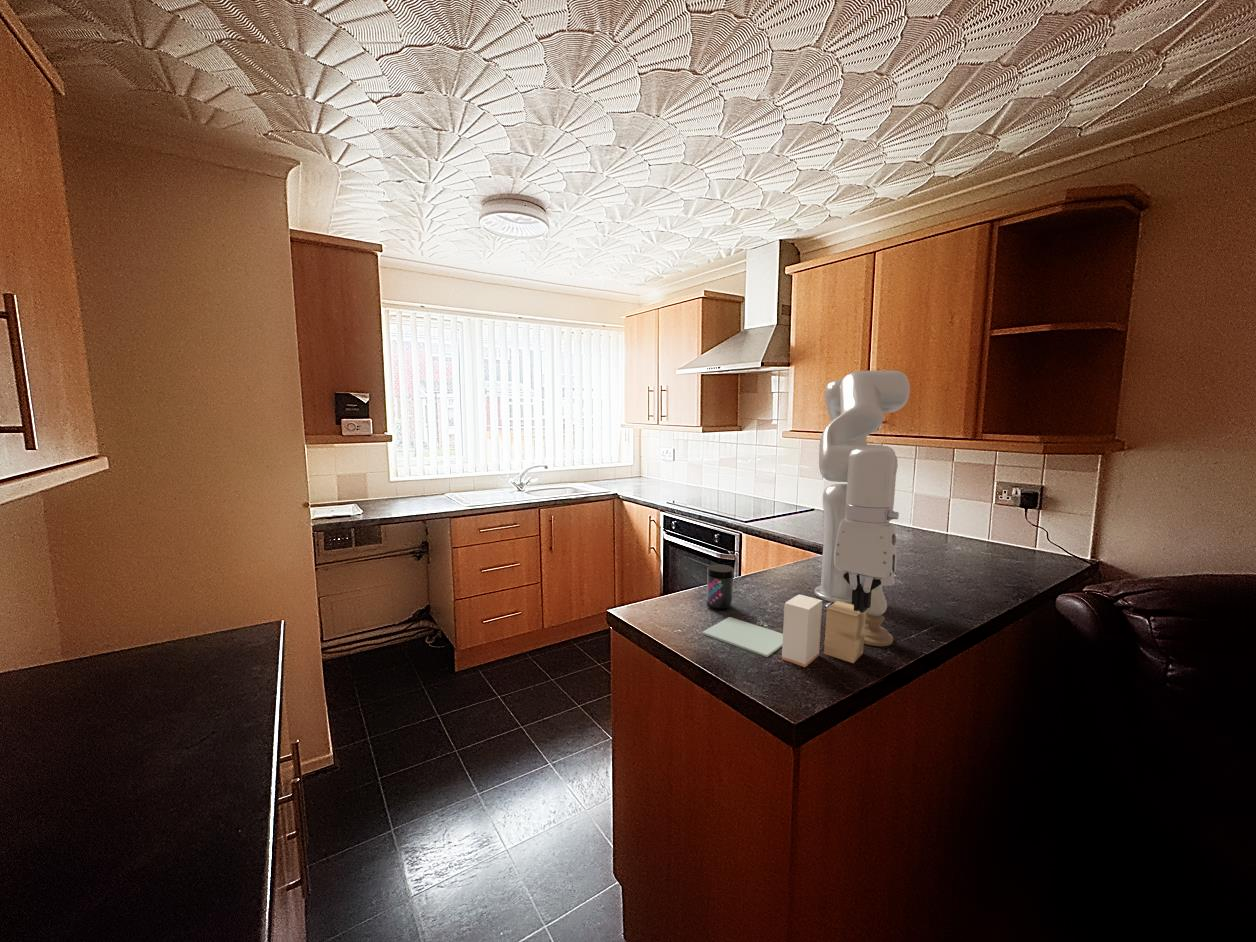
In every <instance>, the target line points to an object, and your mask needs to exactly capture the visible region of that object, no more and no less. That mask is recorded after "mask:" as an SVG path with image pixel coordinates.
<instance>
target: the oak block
mask: <svg viewBox="0 0 1256 942" xmlns="http://www.w3.org/2000/svg"><path fill="white" fill-rule="evenodd" d="M825 615H826V616H825V617H826V618H825V632H824V647H823V654H824V655H826V656H829V657H833V658H836V659H839V660H842V661H845V662H849V663H851V664H854V663H855V662H856V661H857V660H858V659H859V658H860V657H861V656H862V655H863V654H864V645H865V644H864V632H865V618H866V611H865V612H863V613H861V612H860V611H854V605H853V604H848V603H844V602H840V601H836V602H835V603H834V602H832V604H831V605H829V606H828V607H826V614H825Z"/></svg>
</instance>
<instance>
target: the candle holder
mask: <svg viewBox="0 0 1256 942" xmlns="http://www.w3.org/2000/svg"><path fill="white" fill-rule="evenodd" d="M896 558H898V557H897V554H896ZM887 608H888V602H887V600H886V598H885V595H884V591H883V586H878V587H876V588H875V589H873V590H872V593H871V605H870V608H867V610H866V618H865V632H864V645H867V646H871V647H872V646H873V647H887V646H888V647H889V646H891V645H892V644H893V642H894V637H893V635H892V634H891V633H889V632H888V629H886V628H884V627H883V626H881V625H882V623H883V622H884V621H885V616H884V615H883V614H884V613H885V612H887V610H888V609H887Z"/></svg>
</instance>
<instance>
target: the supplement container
mask: <svg viewBox="0 0 1256 942" xmlns="http://www.w3.org/2000/svg"><path fill="white" fill-rule="evenodd" d="M706 571H707V576H706V577H707V579H706V581H707V583H706V606H707V607H708V608H709V609H710V610H712V609H713V611H715V612H716V611H717V612H725V611H729V610H731V609H732V607H733V599H734V598H733V595H734V594H733V592H734V576H735V575H734V574H735V573H734V571H735V568H734V567H732V566H731V565H727V564H721V563H720V564H718V563H717V564H716V563H715V564H710V565H708V566H707V570H706Z"/></svg>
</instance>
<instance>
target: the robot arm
mask: <svg viewBox="0 0 1256 942" xmlns="http://www.w3.org/2000/svg"><path fill="white" fill-rule="evenodd" d="M910 385H911V384H910V381H909V378H908V377H907V375H906V373H904V372H902V371H899V370H858V371H857V370H856V371H853V372H850V373H848V374H846V375H845V376H844V377H843V378H840V379H835V380H832V381H830V382H829V383H827V385H826V386H825V390H824V400H825V406H826V409H827V413H828V415H829V418H830V421H831V422H829V424H828V425H827V426H826V427H825V428H824V430H823V432H822V433H821V436H820V440H819V445H818V446H819V448H818V449H819V450H818V451H819V452H818V467H819V468H818V469H819V472H820V473H819V474H820V475H821V477H822V478H823V479H824V480H827V481H828V482H834V484H830V485H828V486H827V487H826V488H825V489H824V491H823V493H822V507H823V518H824V519H823V521H824V522H823V523H824V524H823V525H824V526H823V546H822V560H821V561H822V562H821V563H822V564H821V577H820V585H818V586H816V587H815V588H814V594H815V595H816V596H817V597H818V599H819V598H820V600H824V601H826V602H831V603H835V602H836V601H840V602H844V603H848V604H852V605H854V611H860V612H861V613H863V612H865V611H866V610H867V608H870V605H871V593H872V590H873V589H875V588H876V587H878V586H882V587H889V586H890V587H891V586H893V585H894V584H895V582H896V581H895V576H894V574H895V573H896V571H897V557H896V555H897V536H896V535H897V534H896V529H895V528H896V527H895V526H896V525H895V524H894V523H891V520H898V519H899V518H900V517H899V515H900V513H899V512H898V511H894V507H895V506H894V504H895V494H896V493H895V491H896V479H897V472H898V456H897V455H896V452H895V450H894V449H893V448H892V447H890V446H888V445H882V444H868V443H867V442H868V441H867V440H868V437H867V436H869V435H871V434H873V433H875V432H876V431H877V430H879V428H881V426H882V425H883V422H884V414H890V413H896V412H897V411H899V410H901V409H902V408H904V407H905V406H906V404H907V403H908V401H909V398H910V393H911V387H910ZM835 482H836V483H835ZM862 576H864V577H865V579H864V583H863V585H862Z"/></svg>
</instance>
